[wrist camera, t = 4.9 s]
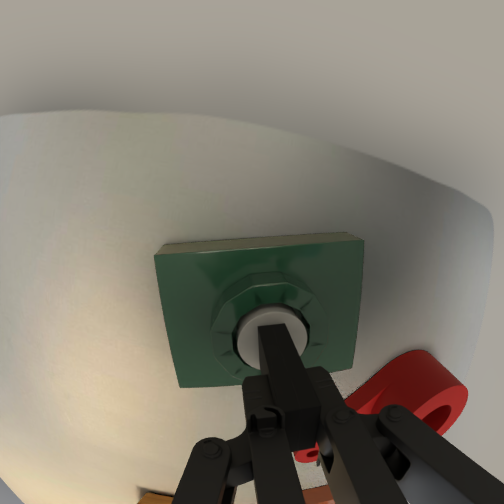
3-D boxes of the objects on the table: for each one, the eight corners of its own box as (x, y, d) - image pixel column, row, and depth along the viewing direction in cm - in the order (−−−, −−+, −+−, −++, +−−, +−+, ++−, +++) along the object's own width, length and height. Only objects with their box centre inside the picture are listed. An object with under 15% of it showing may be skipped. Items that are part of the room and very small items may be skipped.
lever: (429, 333, 23) (468, 366, 17) (436, 384, 26) (466, 416, 19) (273, 425, 24) (284, 477, 18) (307, 461, 26) (321, 503, 20)
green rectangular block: (346, 231, 20) (380, 246, 15) (338, 348, 22) (362, 383, 18) (163, 244, 19) (144, 264, 14) (183, 365, 21) (176, 406, 17)
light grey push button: (299, 294, 17) (308, 308, 15) (298, 348, 18) (306, 366, 16) (233, 300, 17) (234, 315, 15) (238, 355, 18) (240, 374, 16)
